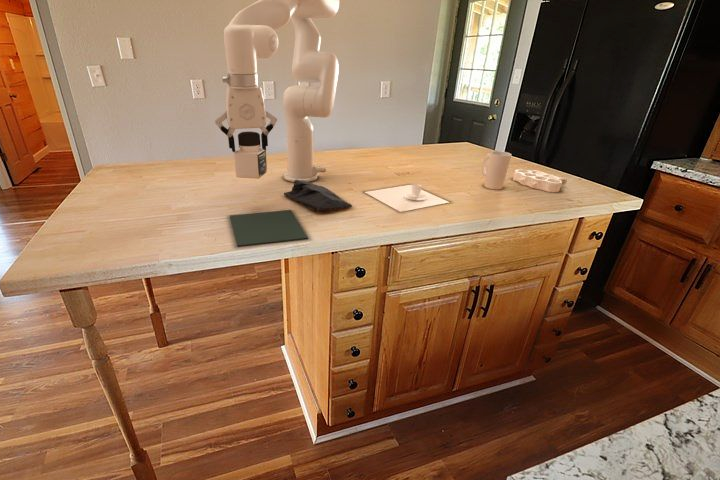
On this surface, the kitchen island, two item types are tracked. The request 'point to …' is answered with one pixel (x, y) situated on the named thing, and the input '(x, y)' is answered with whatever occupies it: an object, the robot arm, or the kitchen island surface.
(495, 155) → the mug
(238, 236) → the mat
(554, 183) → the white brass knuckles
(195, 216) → the kitchen island surface
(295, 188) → the black fabric pouch
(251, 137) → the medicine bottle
